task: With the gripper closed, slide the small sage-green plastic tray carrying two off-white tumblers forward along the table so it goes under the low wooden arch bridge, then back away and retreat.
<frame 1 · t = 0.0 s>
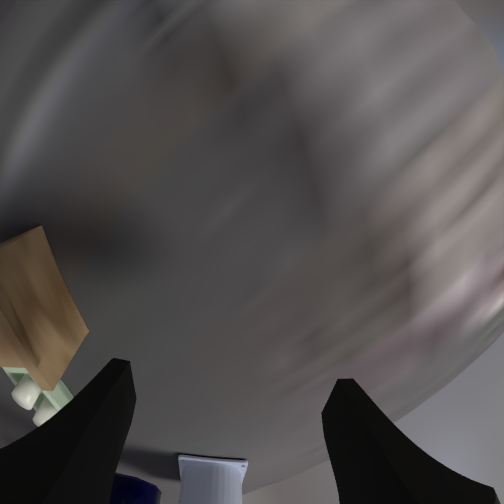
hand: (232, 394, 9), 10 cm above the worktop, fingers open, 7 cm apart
tray: (48, 384, 23), on the worktop
bottle: (133, 484, 33), on the worktop
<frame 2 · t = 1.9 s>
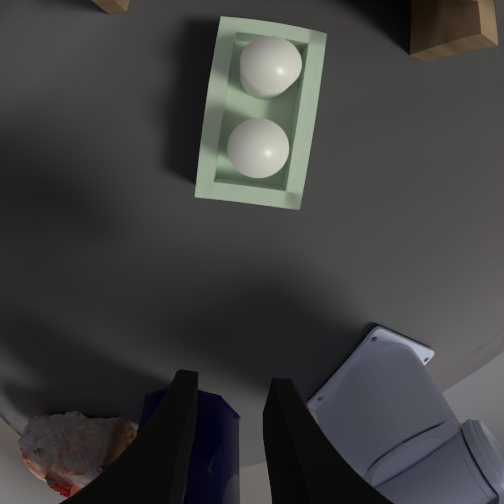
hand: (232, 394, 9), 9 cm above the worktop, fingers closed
tray: (258, 112, 15), on the worktop
food item: (88, 425, 25), on the worktop
bottle: (189, 416, 24), on the worktop
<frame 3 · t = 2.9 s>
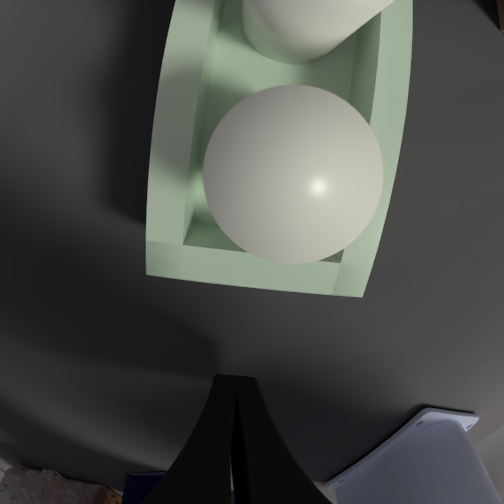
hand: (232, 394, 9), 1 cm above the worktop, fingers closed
tray: (277, 91, 7), on the worktop
food item: (69, 482, 18), on the worktop
bottle: (181, 492, 16), on the worktop
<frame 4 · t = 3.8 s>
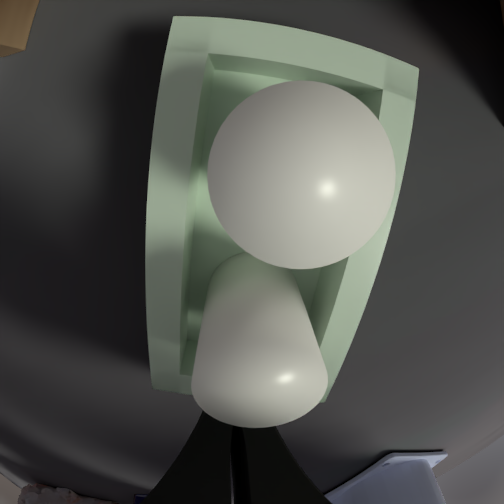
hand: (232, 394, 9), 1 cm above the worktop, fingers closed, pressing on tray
tray: (260, 218, 8), on the worktop, touching gripper
food item: (81, 497, 19), on the worktop
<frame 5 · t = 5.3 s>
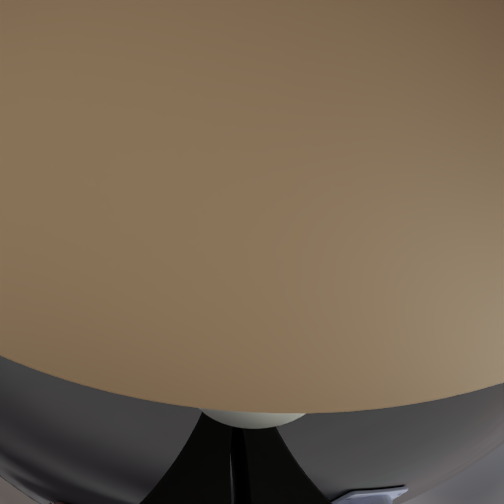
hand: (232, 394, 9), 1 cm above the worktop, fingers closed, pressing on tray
tray: (258, 219, 8), on the worktop, touching gripper
wooden arch bridge: (273, 107, 7), on the worktop
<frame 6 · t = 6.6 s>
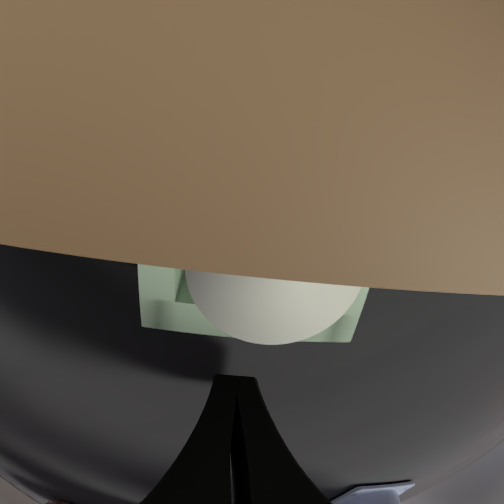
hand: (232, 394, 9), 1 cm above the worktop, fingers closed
tray: (267, 130, 7), on the worktop
wooden arch bridge: (273, 67, 7), on the worktop
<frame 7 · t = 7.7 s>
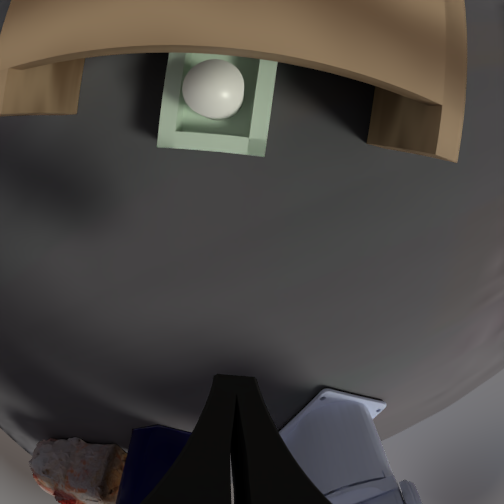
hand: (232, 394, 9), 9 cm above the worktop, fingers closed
tray: (224, 69, 14), on the worktop
wooden arch bridge: (228, 40, 13), on the worktop
food item: (88, 448, 27), on the worktop
bottle: (170, 445, 26), on the worktop
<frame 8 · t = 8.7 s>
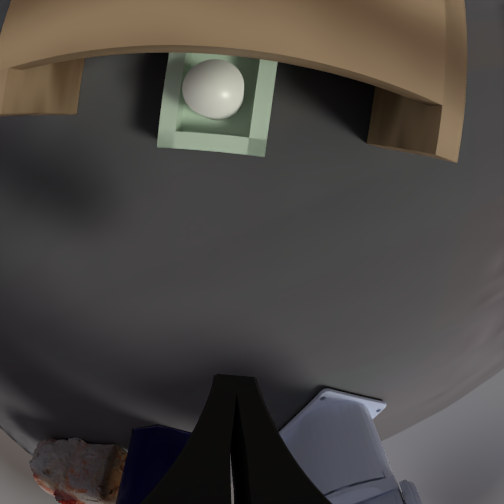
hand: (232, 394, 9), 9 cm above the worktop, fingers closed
tray: (224, 69, 14), on the worktop
wooden arch bridge: (228, 40, 13), on the worktop
food item: (89, 448, 27), on the worktop
bottle: (170, 445, 26), on the worktop
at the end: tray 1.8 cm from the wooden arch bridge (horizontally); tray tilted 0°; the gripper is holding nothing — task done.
